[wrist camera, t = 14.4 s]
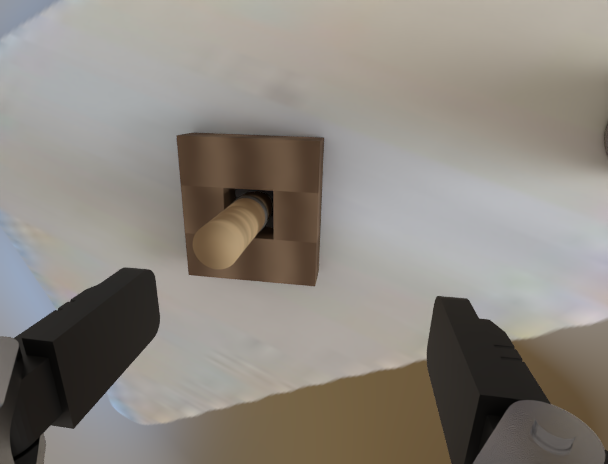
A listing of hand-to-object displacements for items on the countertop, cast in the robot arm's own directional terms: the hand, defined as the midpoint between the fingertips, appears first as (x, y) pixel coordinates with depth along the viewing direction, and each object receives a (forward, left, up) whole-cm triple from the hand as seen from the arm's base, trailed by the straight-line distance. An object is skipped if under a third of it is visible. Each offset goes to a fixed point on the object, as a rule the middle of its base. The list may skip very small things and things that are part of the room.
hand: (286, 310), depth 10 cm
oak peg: (+9, +6, -32) cm, 34 cm away
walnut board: (+10, +6, -32) cm, 34 cm away
